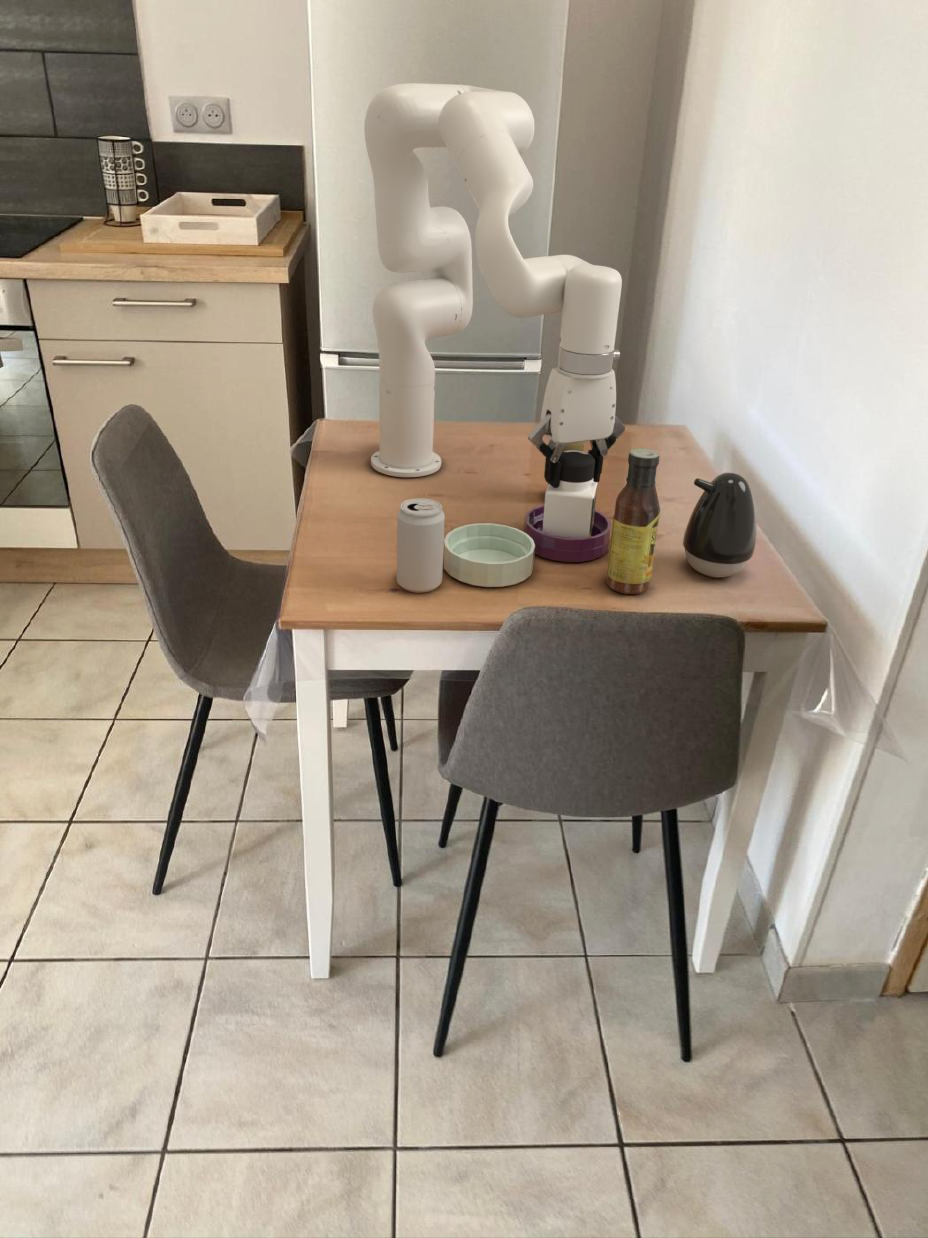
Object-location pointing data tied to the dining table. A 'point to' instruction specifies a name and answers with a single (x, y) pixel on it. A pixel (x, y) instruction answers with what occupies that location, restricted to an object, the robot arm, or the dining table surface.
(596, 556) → the plum bowl
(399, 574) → the beverage can
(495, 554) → the pale bowl
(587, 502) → the medicine bottle
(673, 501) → the dining table surface
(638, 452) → the sauce bottle
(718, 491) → the pump dispenser
